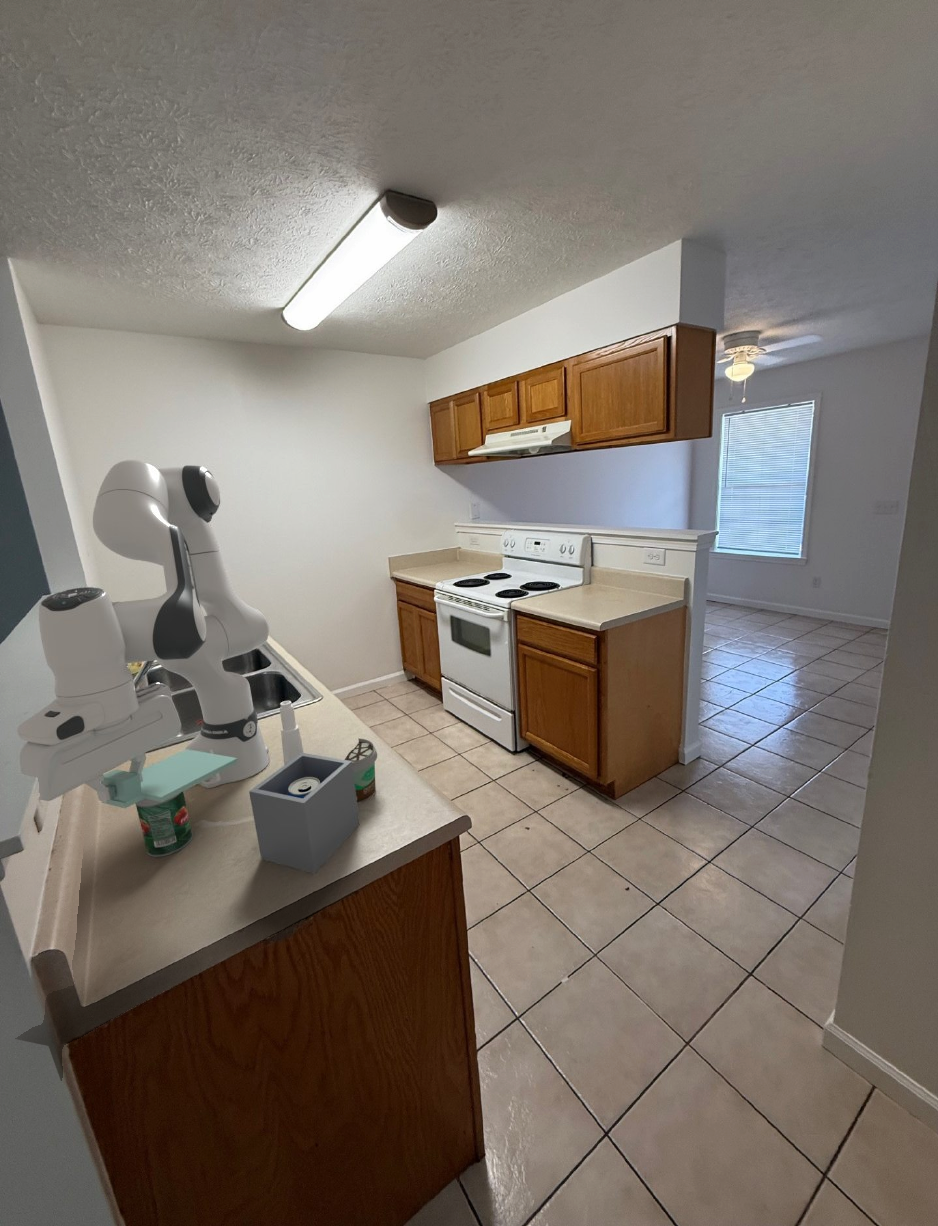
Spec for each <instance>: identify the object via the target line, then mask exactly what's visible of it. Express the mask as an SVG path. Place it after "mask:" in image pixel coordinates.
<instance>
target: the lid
mask: <svg viewBox="0 0 938 1226" xmlns="http://www.w3.org/2000/svg"><path fill="white" fill-rule="evenodd" d="M236 763H238V759H237V758H234V757H228V756H222V755H217V754H211V753H205V752H200V751H194V750H188V749H186V750H185V749H184V750H182V751H180V752H178V753H175V754H173V755H171V756H168V757H166V758H164V759H162V760H159V761H157V762H155V763H152V764H151V765H148V766H146V767H143V770H142V772H141V773H142V778H143V782H141V783H140V775H139V774H136V773H132V772H129V771H127V770H122V769H113V770H112V771H110V772H109V771H108V772H106V773H104V774H103V776H104V781H102V782H100V783H102V784H103V785H104V786H105V785H110V786H115V789H116V791H115V793H117V796H116V797H115V798H113V799H111V800H109V801H108V802H106V803H105V802H102V801H101V803H102V804H105V805H106V804H107V805H110V806H114V807H119V808H121V809H127V808H129V807H131V806H133V805H136V804H135V803H137V802H139V801H141V800H143V799H145V798H146V799H150V800H154V801H158V802H163V801H165V800H167V799H169V798H171V797H173V796H175V795H177V794H179V793H181V792H182V791H183V792H184V791H186V790H189V789H190V788H191V787H194V786H195V785H199V784H198V783H200V782H202V781H203V780H205V779H207V778H209V777H211V776H213V775H215V774H217V773H219V772H221V771H223V770H225V769H226V768H228V767H230V766H232V765H234V764H236Z"/></svg>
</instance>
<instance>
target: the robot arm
mask: <svg viewBox="0 0 938 1226" xmlns="http://www.w3.org/2000/svg"><path fill="white" fill-rule="evenodd" d="M220 493H221V492H220V487H219V485H218V483H217V481H216V479H215V477H214V475H213V474H212V473H211V472H210V471H209V470H208V469H207V468H206V467H204V466H202V465H201V466H200V465H184V466H183V467H180V466H178V467H164V468H156V467H155V466H153V464H152V465H151V464H150V463H147V462H145V461H141V460H136V459H128V460H127V459H126V460H122V461H119V462H117V463H116V464H114V465H113V466H112V467H111V468H110V469H109V471H108V473H107V474H106V475H105V477H104V479H103V481H102V483H101V485H100V487H99V490H98V494H97V496H96V500H95V504H94V509H93V513H92V528H93V532H94V534H95V535H96V537H97V538H98V540H99V541H100V542H101V544H102V545H104V547H105V548H107V549H108V550H110V551H111V552H113V553H115V554H118V555H119V556H122V557H124V558H127V559H130V560H135V561H141V562H147V563H152V564H156V565H159V566H161V567H163V572H164V580H165V581H164V582H165V588H166V592H165V593H164V594H162V595H159V596H156V597H152V598H146V599H145V598H144V599H137V600H128V601H127V600H126V601H111V598H110V596H109V594H108V592H107V591H106V590H104V589H103V588H100V587H93V586H87V587H76V588H71V589H66V590H63V591H59V592H56V593H53V594H50V595H48V596H47V597H46V598H45V599H43V600H42V601H41V602H40V604H39V607H38V608H39V609H38V622H39V624H38V625H39V632H40V638H41V644H42V648H43V654H44V657H45V661H46V664H47V666H48V667H49V668H50V669H49V670H51V672H52V674H53V676H54V682H55V683H54V685H55V686H54V694H55V698H56V699H54V700H52V702H51V703H49V704H48V705H46V707H44V708H42V709H41V710H39V711H38V712H37V713H35V714H34V715H32V716H31V717H29V718H28V719H27V720H25V721H23V722H22V723H21V724H20V725H19V726H18V727H17V735H18V737H19V738H20V740H23V741H26V743H24V745H23V747H22V748H21V750H20V754H19V765H20V772H21V773H22V774H24V775H28V776H31V777H32V776H33V777H37V778H38V782H39V793H40V797H39V799H38V800H41V801H46V802H50V801H53V800H56V799H57V798H59V797H61V796H63V795H64V794H67V793H68V792H70V791H72V790H74V789H76V788H78V787H81V786H82V785H84V784H85V785H87V786H88V787H90V788H91V789H93V790H94V791H96V795H97V798H98V800H99V801H100V802H101V803H102V802H105V803H106V802H108V801H109V800H111V799H113V798H115V797H116V796H117V793H115V791H116V789H115V786H110V785H105V786H104V785H103V784H102V783H101V782H102V781H104V776H103V775H104V774H107V773H109V771H110V772H111V770H114V769H115V768H117V767H119V766H121V765H123V764H125V763H127V762H129V761H131V762H130V767H129V770H128V772H132V773H136V774H139V775H140V783H141V782H143V778H142V773H141V772H142V770H143V768H145V767H144V766H145V765H146V764H145V763H146V761H147V756H146V752H148V751H150V750H153V749H154V748H156V747H158V746H160V745H162V744H164V743H166V742H168V741H170V740H171V739H174V738H175V737H177V736H179V734H180V732H181V730H182V723H181V720H180V716H179V713H178V711H177V708H176V706H175V703H174V701H173V696H172V692H171V687H169V686H168V685H167V684H165V683H160V682H158V681H157V682H154V683H153V682H152V683H151V684H149V685H147V686H144V687H141V688H138V689H136V687H135V682H134V677H133V674H132V672H131V670H130V669H129V667H128V665H127V664H134V663H136V664H137V663H144V662H150V661H151V662H152V661H157V663H158V664H159V665H160V666H161V667H162V668H163V669H165V670H166V671H169V672H172V673H175V674H176V675H180V676H181V677H183V678H184V679H186V681H188V682H189V684H190V685H192V687H193V689H194V690H195V693H196V695H197V698H198V701H199V705H200V709H201V714H202V717H203V718H201V719H199V720H196V721H195V723H197V724H196V726H197V727H198V726H200V725H201V727H200V732H199V734H197V735H196V736H195V737H194V738H193V739H192V740H191V741H190V742H189V743H187V745H186V746H185V748H184V750H186V749H188V750H194V751H200V752H205V753H211V754H217V755H222V756H228V757H234V758H237V759H238V763H236V764H234V765H232V766H230V767H228V768H226V769H225V770H223V771H221V772H219V773H217V774H215V775H213V776H211V777H209V778H207V779H205V780H203V781H202V782H200V783H198V784H197V785H200V786H202V787H204V788H206V789H211V788H214V787H218V786H221V785H224V784H227V783H234V782H238V781H242V780H245V779H249V778H250V777H252V776H254V775H256V774H258V773H260V772H261V771H263V770H264V769H265V768H266V767H267V766H268V764H269V763H270V757H269V754H268V752H269V747H268V745H266V744H265V742H264V741H265V740H264V737H263V734H262V732H261V731H262V730H261V728H260V725H259V721H258V713H257V711H256V708H255V707H254V704H253V697H252V693H251V692H252V691H251V687H250V686H251V685H250V683H249V681H248V679H247V678H246V677H245V676H243V675H242V674H240V673H237V672H232V671H227V670H225V669H224V666H223V661H225V660H228V659H231V658H234V657H238V656H241V655H245V654H247V653H250V652H252V651H253V650H255V649H257V648H259V647H261V646H262V645H264V644H265V643H266V642H267V641H268V637H269V634H270V625H269V620H267V618H266V615H264V614H263V613H262V612H261V611H260V610H259V609H257V608H254V607H252V606H250V605H249V604H247V603H246V602H244V600H242V598H240V596H238V594H237V593H236V592H235V590H234V589H233V587H232V585H231V583H230V580H229V578H228V575H227V572H226V569H225V565H224V562H223V559H222V554H221V551H220V548H219V543H218V541H217V538H216V535H215V533H214V531H213V527H212V526H211V523H210V522H211V521H212V519H213V516H214V515H215V514H217V511H218V510H219V507H220V505H221V494H220ZM201 608H203V609H204V610H205V613H206V615H205V614H204V613H203V611H202V609H201ZM204 615H205V616H204ZM21 773H20V774H21ZM22 774H21V775H22ZM105 803H104V804H105Z"/></svg>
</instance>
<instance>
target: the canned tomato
mask: <svg viewBox="0 0 938 1226" xmlns="http://www.w3.org/2000/svg"><path fill="white" fill-rule="evenodd" d="M186 801H187V800H186V797H185V793H184V791H182V792H181V793H179V794H177V795H175V796H173V797H171V798H169V799H167V800H165V801H163V802H158V801H154V800H150V799H146V798H145V799H143V800H141V801H139V802H137V803H135V804H134V805H135V807H136V812H137V816H138V820H139V824H140V828H141V833H142V835H143V841H144V845H145V847H146V853H147V855H149V856H150V857H155V858H157V857H158V858H159V857H166V856H169V855H172V854H175V853H176V852H179V851H180V850H183V849H184V848H185V847H186V846H188V845H189V844H190V842H191V841H192V840H193V837H194V833H193V830H192V825H191V822H190V821H191V820H190V815H189V812H188V807H187V802H186Z"/></svg>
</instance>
